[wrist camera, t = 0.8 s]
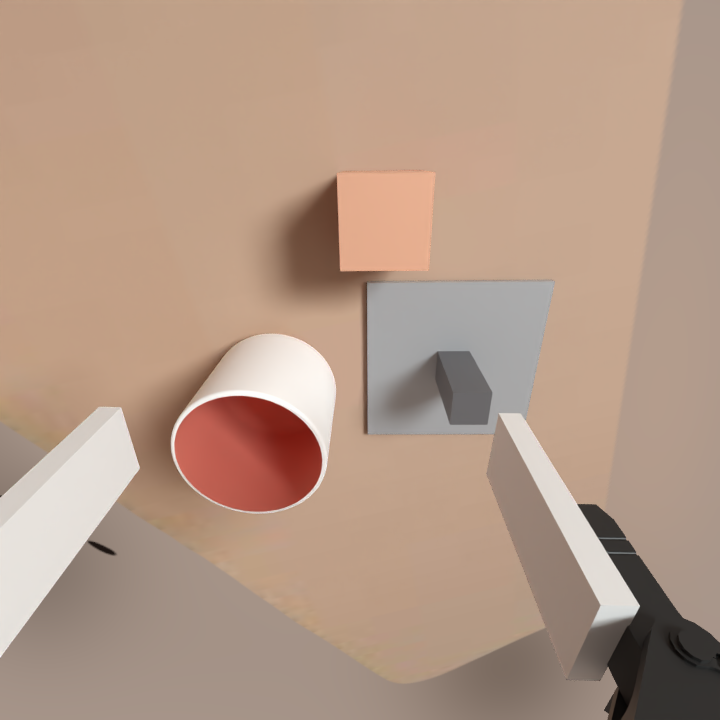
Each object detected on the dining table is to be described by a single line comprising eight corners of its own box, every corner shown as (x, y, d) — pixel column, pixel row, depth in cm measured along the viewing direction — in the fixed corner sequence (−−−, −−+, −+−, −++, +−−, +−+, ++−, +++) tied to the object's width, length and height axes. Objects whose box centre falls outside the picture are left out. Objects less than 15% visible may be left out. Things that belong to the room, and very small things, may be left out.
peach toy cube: (343, 171, 27) (336, 173, 21) (419, 170, 27) (435, 172, 21) (345, 249, 29) (340, 271, 23) (415, 248, 29) (428, 270, 23)
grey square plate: (367, 281, 30) (367, 312, 24) (551, 279, 30) (601, 310, 24) (367, 431, 36) (368, 486, 30) (520, 430, 36) (553, 486, 30)
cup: (346, 340, 32) (339, 407, 23) (327, 436, 37) (315, 524, 28) (223, 317, 32) (167, 377, 23) (219, 418, 36) (170, 502, 27)
